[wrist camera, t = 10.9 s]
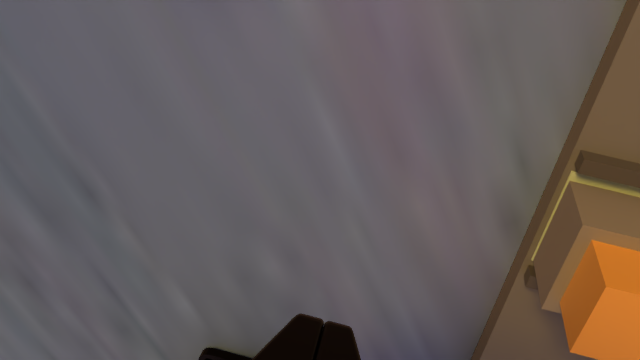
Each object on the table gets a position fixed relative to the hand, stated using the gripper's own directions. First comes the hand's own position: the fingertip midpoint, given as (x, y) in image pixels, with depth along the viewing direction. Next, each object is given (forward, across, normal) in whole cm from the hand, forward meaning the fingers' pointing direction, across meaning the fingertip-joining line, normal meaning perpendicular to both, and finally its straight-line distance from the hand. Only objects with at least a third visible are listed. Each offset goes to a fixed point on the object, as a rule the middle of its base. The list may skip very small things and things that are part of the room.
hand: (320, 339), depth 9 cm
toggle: (+11, -7, +3) cm, 13 cm away
